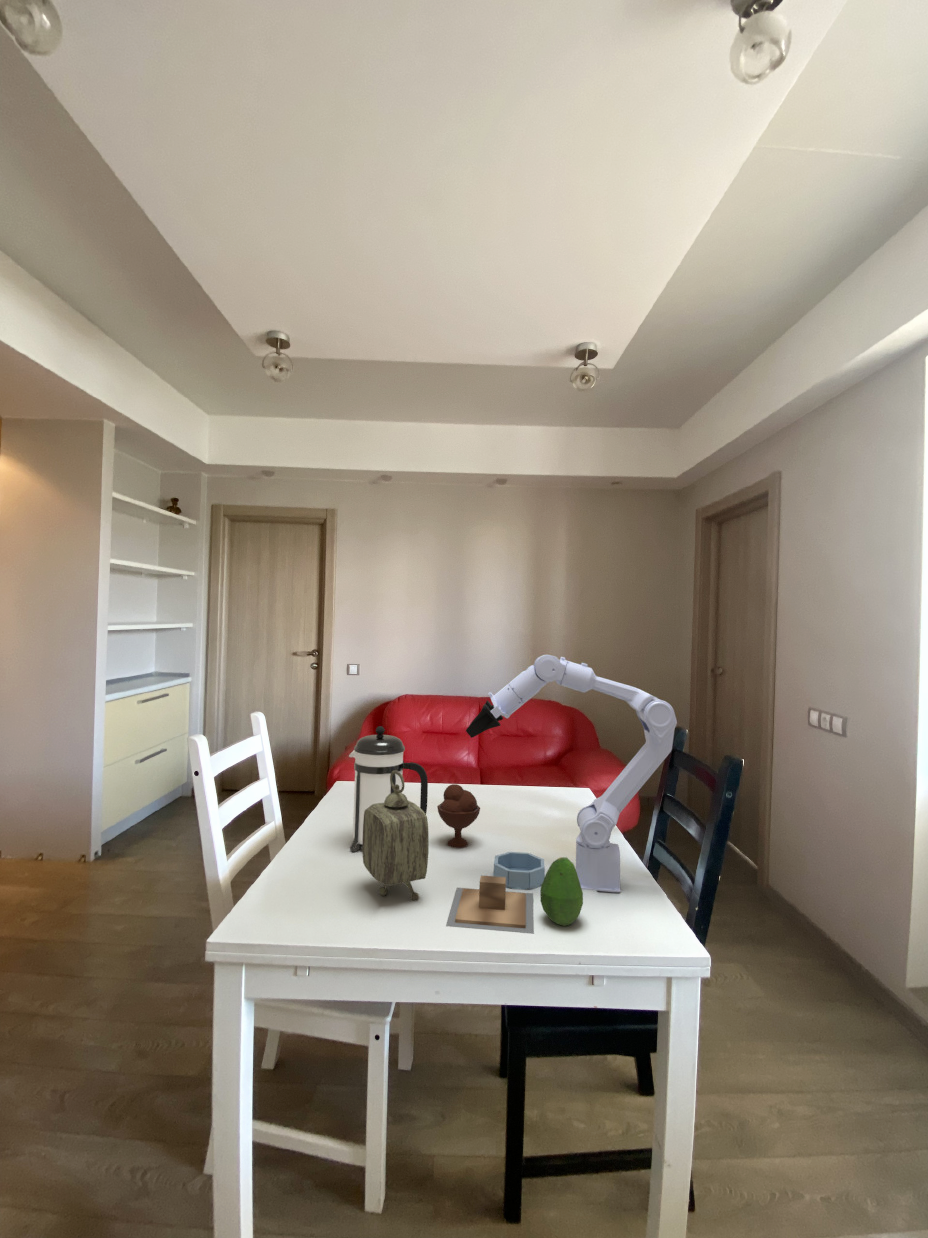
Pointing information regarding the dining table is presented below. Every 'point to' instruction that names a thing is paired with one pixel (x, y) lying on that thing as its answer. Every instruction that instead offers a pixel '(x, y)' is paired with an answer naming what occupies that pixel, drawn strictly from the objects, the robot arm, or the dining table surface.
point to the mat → (452, 923)
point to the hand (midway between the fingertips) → (470, 731)
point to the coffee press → (379, 776)
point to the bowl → (520, 870)
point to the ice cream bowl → (458, 812)
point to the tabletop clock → (396, 840)
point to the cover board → (492, 915)
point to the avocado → (561, 892)
